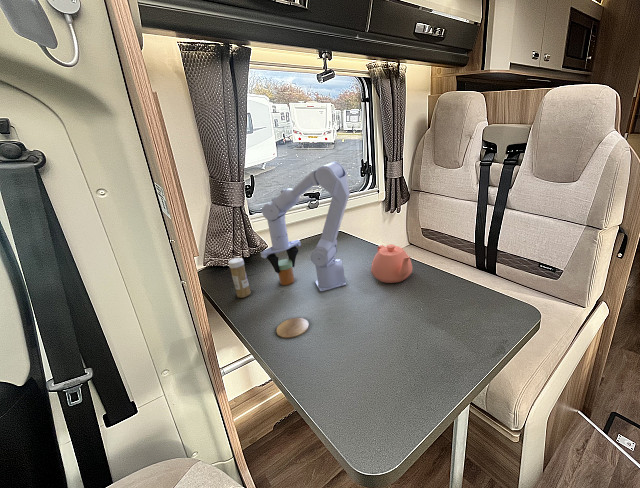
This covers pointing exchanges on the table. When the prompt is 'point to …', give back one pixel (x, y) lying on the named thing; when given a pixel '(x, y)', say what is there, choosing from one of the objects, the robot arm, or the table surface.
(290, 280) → the jar
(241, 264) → the sprinkles bottle
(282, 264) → the lid
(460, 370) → the table surface
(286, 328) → the coaster
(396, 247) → the teapot
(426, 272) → the table surface
